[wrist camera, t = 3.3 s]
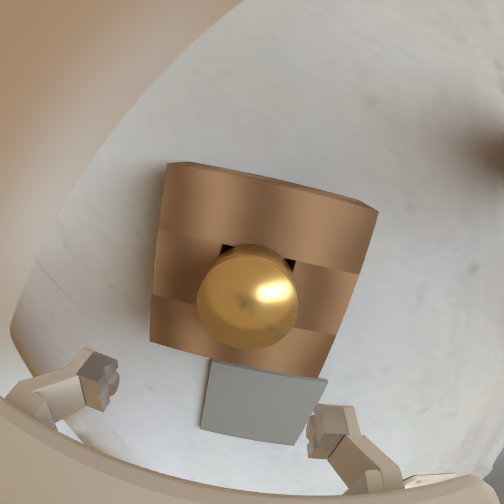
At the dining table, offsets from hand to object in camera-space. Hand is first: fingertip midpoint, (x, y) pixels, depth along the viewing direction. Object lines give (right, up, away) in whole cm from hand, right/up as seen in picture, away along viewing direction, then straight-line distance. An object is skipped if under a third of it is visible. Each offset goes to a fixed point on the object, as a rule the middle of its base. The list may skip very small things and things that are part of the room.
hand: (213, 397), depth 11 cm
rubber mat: (+2, -12, +20) cm, 23 cm away
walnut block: (+2, +5, +14) cm, 15 cm away
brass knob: (+2, +5, +14) cm, 15 cm away
